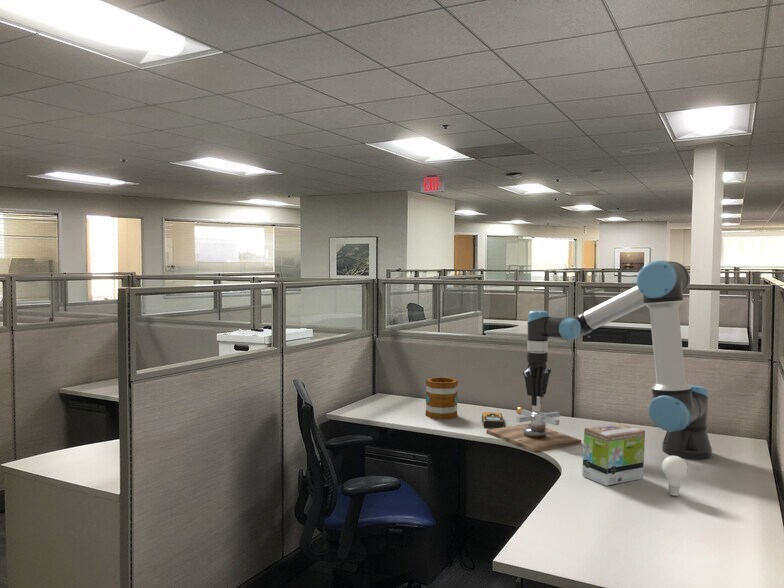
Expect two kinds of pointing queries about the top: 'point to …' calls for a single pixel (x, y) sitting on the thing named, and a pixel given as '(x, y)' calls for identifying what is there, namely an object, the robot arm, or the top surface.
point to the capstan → (537, 421)
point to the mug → (441, 398)
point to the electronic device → (492, 420)
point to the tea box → (613, 454)
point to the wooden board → (533, 444)
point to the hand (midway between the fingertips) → (536, 413)
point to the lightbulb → (674, 473)
